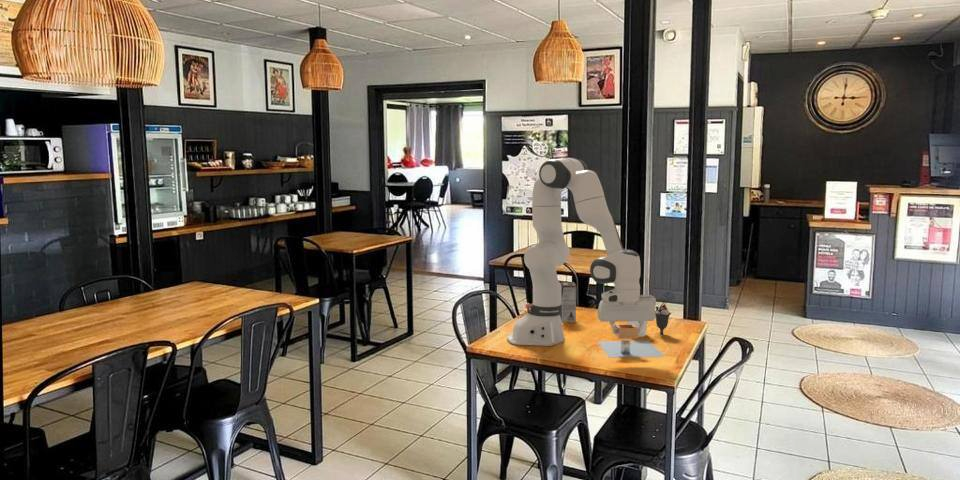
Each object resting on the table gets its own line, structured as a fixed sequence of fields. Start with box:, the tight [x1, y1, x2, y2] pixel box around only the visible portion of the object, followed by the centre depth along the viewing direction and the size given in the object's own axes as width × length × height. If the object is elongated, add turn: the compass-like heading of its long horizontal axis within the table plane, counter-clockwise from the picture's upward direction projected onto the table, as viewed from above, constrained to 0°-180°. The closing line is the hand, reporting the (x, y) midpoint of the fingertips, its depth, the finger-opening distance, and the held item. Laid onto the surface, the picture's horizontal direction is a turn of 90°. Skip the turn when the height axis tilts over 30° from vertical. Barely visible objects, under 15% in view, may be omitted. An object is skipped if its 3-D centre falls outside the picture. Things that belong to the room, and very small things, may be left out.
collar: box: [614, 323, 639, 340], centre depth 237 cm, size 7×7×4 cm
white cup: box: [626, 321, 648, 338], centre depth 262 cm, size 8×8×10 cm
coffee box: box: [559, 281, 577, 323], centre depth 291 cm, size 9×6×16 cm
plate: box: [596, 340, 666, 359], centre depth 243 cm, size 20×20×2 cm
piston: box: [620, 339, 631, 354], centre depth 237 cm, size 3×3×4 cm
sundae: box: [655, 301, 672, 336], centre depth 262 cm, size 7×7×15 cm
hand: (626, 333), depth 237 cm, fingers closed on collar, 7 cm apart
